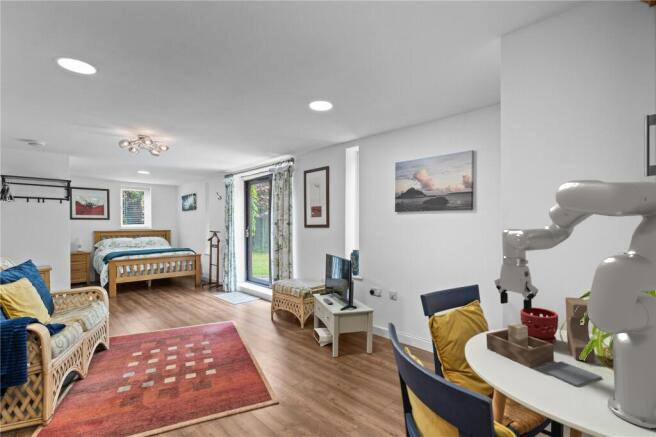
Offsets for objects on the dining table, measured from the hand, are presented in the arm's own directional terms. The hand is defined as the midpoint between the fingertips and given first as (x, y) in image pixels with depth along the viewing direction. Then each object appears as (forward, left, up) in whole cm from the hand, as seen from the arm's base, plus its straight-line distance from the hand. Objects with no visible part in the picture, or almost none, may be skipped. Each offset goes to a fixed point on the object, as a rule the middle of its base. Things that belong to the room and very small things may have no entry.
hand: (515, 306), depth 119 cm
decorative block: (-11, -19, -18) cm, 28 cm away
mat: (-18, -1, -18) cm, 25 cm away
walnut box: (-1, 0, -18) cm, 18 cm away
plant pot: (+5, -20, -18) cm, 28 cm away
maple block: (-1, 0, -15) cm, 15 cm away
